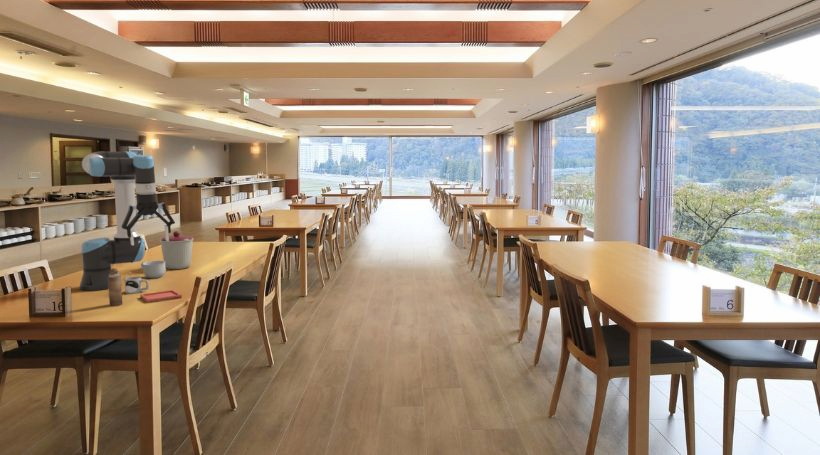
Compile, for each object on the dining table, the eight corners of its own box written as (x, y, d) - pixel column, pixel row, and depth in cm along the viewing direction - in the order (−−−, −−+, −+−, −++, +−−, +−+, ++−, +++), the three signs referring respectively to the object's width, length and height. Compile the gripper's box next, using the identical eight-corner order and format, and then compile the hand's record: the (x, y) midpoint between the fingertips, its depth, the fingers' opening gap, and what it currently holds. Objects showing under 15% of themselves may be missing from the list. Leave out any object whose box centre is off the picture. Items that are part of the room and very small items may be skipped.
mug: (123, 294, 252) (122, 279, 251) (128, 290, 258) (127, 276, 257) (147, 293, 254) (146, 278, 253) (151, 289, 260) (150, 276, 259)
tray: (140, 297, 245) (140, 294, 244) (173, 293, 254) (173, 289, 253) (147, 303, 236) (147, 299, 235) (181, 297, 244) (181, 294, 244)
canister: (201, 265, 321) (199, 229, 318) (183, 271, 303) (181, 233, 300) (173, 264, 324) (171, 228, 321) (153, 270, 306) (151, 232, 304)
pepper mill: (108, 304, 233) (106, 268, 232) (121, 302, 236) (118, 266, 235) (111, 306, 230) (108, 269, 228) (123, 304, 233) (121, 268, 231)
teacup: (170, 276, 290) (169, 261, 289) (151, 280, 281) (150, 264, 280) (154, 273, 297) (153, 259, 296) (135, 277, 288) (134, 262, 287)
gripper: (114, 196, 218) (118, 248, 223) (180, 192, 233) (183, 240, 237) (110, 193, 224) (115, 244, 229) (175, 189, 238) (178, 237, 243)
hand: (150, 242), depth 233 cm, fingers open, 13 cm apart
